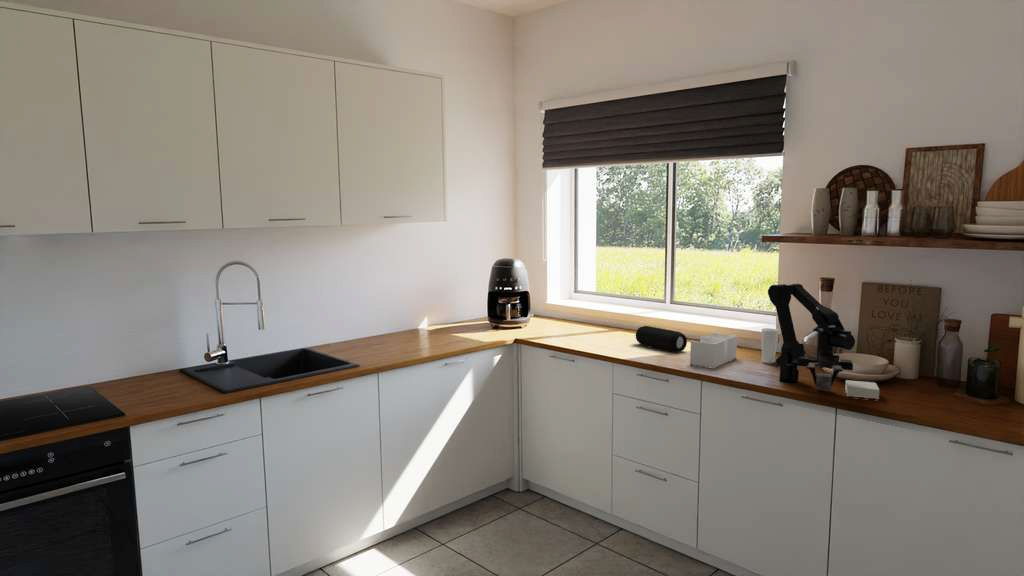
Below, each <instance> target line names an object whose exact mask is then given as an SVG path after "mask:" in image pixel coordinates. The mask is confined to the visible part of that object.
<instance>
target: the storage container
mask: <svg viewBox="0 0 1024 576" xmlns="http://www.w3.org/2000/svg"><path fill="white" fill-rule="evenodd" d="M699 340H700V341H698V340H697V341H695V340H690V359H689V365H690V364H693V365H692V366H696V365H699V366H698V367H702V366H705V367H704V368H708V367H711V368H710V369H716V368H718V367H720V366H722V365H724V364H725V363H726V362H727V363H729V362H731V361H733V360H736V359H737V343H738V336H737V335H735V334H727V333H720V332H712V336H707V335H704V336H700V338H699ZM735 358H736V359H735ZM728 361H729V362H728ZM721 364H722V365H721ZM719 365H720V366H719ZM717 366H718V367H717ZM715 367H716V368H715Z"/></svg>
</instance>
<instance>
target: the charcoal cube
mask: <svg viewBox="0 0 1024 576" xmlns="http://www.w3.org/2000/svg"><path fill="white" fill-rule="evenodd" d="M815 373H816V385H815V384H814V385H815V390H824V391H831V390H832V386H831V379H832V377H831V376H832V373H820V372H815Z"/></svg>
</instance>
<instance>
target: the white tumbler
mask: <svg viewBox="0 0 1024 576" xmlns="http://www.w3.org/2000/svg"><path fill="white" fill-rule="evenodd" d="M760 335H761V336H760V337H761V340H760V341H761V362H762V363H764V364H767V365H768V364H772V365H773V364H774V363H776V354H777V353H776V351H777V346H778V340H779V339H778V337H779V330H778V329H776V328H768V327H767V328H762V329H761V334H760Z"/></svg>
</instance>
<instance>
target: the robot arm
mask: <svg viewBox="0 0 1024 576" xmlns="http://www.w3.org/2000/svg"><path fill="white" fill-rule="evenodd" d="M767 295H768V297H769V300H770V302H771V303H772V305H773V306H774V307H775V309H776V314H777V318H778V323H779V328H780V332H781V337H782V345H781V349H780V353H781V354H780V356H778V357H777V358H775V364H776V366H778V367H779V377H778V380H779V382H782V381H785V382H784V383H792V382H795V384H797V383H798V381H799V374H800V373H799V371H800V369H798V366H799V367H805V369H808V370H809V371H810V373H811V375H812V378H813V379H812V380H813V382H814V385H816V373H817V372H816V366H818V368H819V369H824V368H825V369H832V372H831V377H832V379H831V387H832V386H833V385H834V382H835V380H836V378H837V376H838V374H839V373H840V372H843V371H854V363H853V361H852V360H851V359H844V358H843V359H841V358H840V355H835V354H834V352H835V350H834V349H835V348H837V349H842V350H846V351H851V350H853V348H854V346H855V343H856V340H855V336H854V335H853V334H852V331H850V330H846V329H845V327H844V326H843V324H842V321H841V320H840V318H839V314H838V313H837V312H836V311H834V310H833V309H831V308H830V307H826V306H825V305H823V304H821V303H820V302H819V301H818V300H817V299H816V298H815V297H814V296H813V295H812V294H811V293H809V291H808V290H807V289H806V288H804V286H803V284H801V283H790V284H788V285H787V284H785V283H784V284H783V283H782V284H772V285H770V286H769V288H768V289H767ZM792 296H793V297H794V298H795V299H796V300H797V301H798V302H799V303H800V304H801V305H802V306H803V307H804V308H805V309H807V311H808V312H809V313H810V314H811V318H812V321H814V323H815V324H816V327H814V328H813V330H812V331H813V332H817V340H816V356H815V357H816V358H815V359H814V358H813V359H810V356H806V351H805V345H804V343H800V342H799V340H798V339H797V336H796V331H795V326H794V322H793V318H792V314H791V313H792V312H791V308H790V304H791V303H790V302H791V300H792Z"/></svg>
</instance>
